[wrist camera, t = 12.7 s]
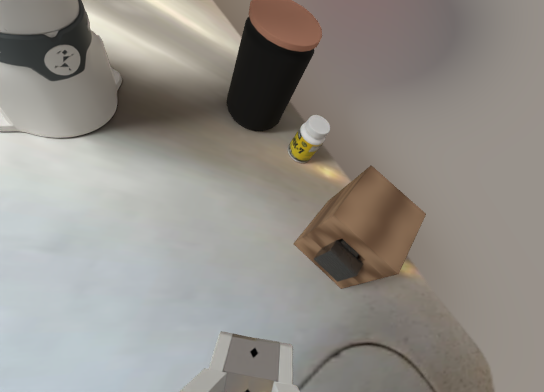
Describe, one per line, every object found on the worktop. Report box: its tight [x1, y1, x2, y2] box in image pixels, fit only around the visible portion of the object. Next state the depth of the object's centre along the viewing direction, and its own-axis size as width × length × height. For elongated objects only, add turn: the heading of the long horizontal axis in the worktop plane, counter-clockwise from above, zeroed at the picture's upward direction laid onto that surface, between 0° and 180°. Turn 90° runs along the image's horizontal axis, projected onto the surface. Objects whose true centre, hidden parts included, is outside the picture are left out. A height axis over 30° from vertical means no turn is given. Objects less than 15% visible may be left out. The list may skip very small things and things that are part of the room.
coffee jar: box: [227, 0, 322, 131], centre depth 44 cm, size 11×11×18 cm
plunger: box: [314, 238, 363, 282], centre depth 37 cm, size 4×12×4 cm, turn 141°
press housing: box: [294, 166, 426, 289], centre depth 39 cm, size 10×11×12 cm
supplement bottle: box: [288, 115, 330, 163], centre depth 47 cm, size 5×5×8 cm
